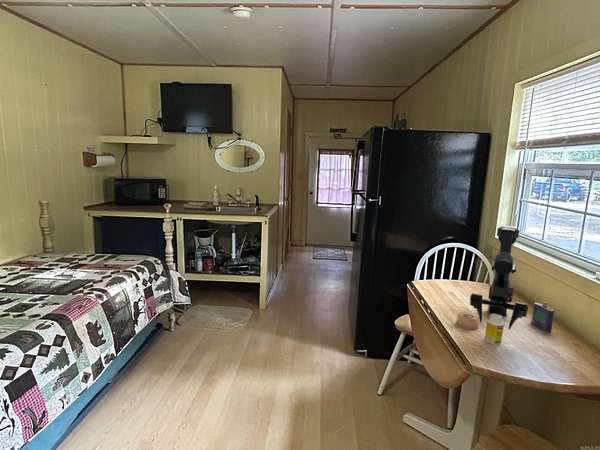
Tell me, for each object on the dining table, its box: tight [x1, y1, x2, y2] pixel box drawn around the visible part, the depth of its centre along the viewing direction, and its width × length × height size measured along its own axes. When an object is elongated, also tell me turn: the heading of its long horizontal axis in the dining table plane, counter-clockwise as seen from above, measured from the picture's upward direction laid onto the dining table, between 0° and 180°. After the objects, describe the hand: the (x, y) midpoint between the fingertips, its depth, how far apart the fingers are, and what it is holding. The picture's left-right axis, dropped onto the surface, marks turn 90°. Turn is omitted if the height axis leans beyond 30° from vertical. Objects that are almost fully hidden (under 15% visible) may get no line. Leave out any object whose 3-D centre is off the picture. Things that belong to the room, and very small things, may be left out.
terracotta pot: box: [456, 311, 480, 331], centre depth 146 cm, size 8×8×4 cm
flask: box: [530, 301, 555, 333], centre depth 145 cm, size 9×3×11 cm, turn 8°
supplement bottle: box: [484, 313, 505, 346], centre depth 132 cm, size 6×6×10 cm
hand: (494, 325), depth 130 cm, fingers open, 9 cm apart
